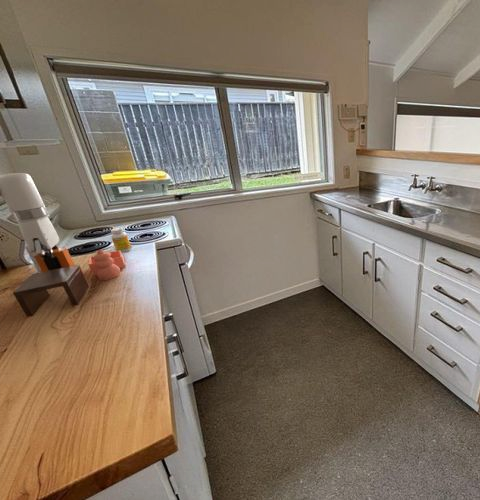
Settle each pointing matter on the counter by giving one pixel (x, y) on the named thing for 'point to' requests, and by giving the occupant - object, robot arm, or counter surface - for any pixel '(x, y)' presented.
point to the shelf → (37, 284)
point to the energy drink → (33, 258)
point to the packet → (62, 257)
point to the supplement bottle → (120, 240)
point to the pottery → (106, 264)
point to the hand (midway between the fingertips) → (57, 265)
